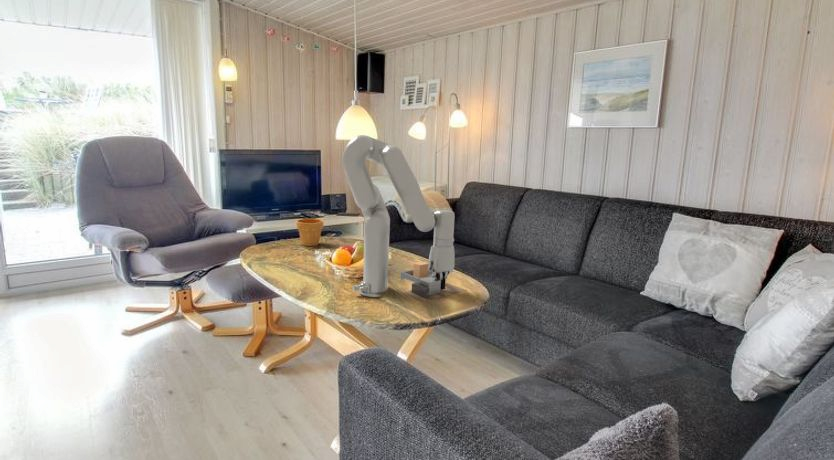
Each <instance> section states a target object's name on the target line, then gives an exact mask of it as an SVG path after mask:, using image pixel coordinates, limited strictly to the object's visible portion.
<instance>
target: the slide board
mask: <svg viewBox="0 0 834 460" xmlns="http://www.w3.org/2000/svg"><path fill="white" fill-rule="evenodd" d="M464 292H468V290H467V289H465V288H461V287H459V286H456V285H453V284H451V283H449V282H445V289H443V290H441V289H440V293H438V294H434V295H429V288H427V287H425V286H422V285H420V284H418V283H415V282H412V283H411V290H408V291H402V294H405V295H406V296H408V297H411V298H413V299H415V300H418V301H420V302H427V301H432V300H434V299H438V298H442V297H447V296H451V295H457V294H459V293H460V294H461V293H464Z"/></svg>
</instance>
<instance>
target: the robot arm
mask: <svg viewBox="0 0 834 460" xmlns="http://www.w3.org/2000/svg"><path fill="white" fill-rule="evenodd" d="M367 160H368V161H371V162H373V163H377V164H380V165H382V167H383V168H384V170H385V172H386V174H387V176H388V179H390V181H391V183H392V185H393V187H394V189H395V192H396V193H397V195H398V196H399V198H400V200H401V201H402V203H403V205H404V206H405V209H406V210H407V213H408V214H409V216H410V217H411V219H412V222H413V224H414V226H415V227H416V229H417V230H419V231H420V232H422V233H423V232H424V233H426V232H430V231H432V230H433V242H432V243H433V244H432V245H431V247H430V251H429V255H428V256H429V257H428V262H427V263H428V270H430V271H431V272H430V275H432V276H435V277H436V278H437V279H439V280H441V288H440V289H441V290H443V289H445V283H446V280H447V279H448V276H449V274H451V273H453V272H454V269H455V262H456V261H455V258H456V257H455V246H454V242H455V238H454V233H455V232H454V230H455V218H456V217H455V212H454V211H453V210H449V209H432V208H430V206H429V204H428V203H427V201H426V199H425V196H424V195H423V192H422V189H421V187H420V184H419V183H418V180H417V178H416V176H415V174H414V172H413V171H412V168H411V167H410V165H409V163H408V161H407V159H406V157H405V155H404V153H403V151H402V149H401V148H399V147H398V146H397V145H393V144H391V143H388V142H384V141H382V140H379V139H376V138H373V137H371V136H368V135H364V134H359V135H357V136H355V137H353V138H352V139H351V140H350V141H349V142H348V143H347V145H345V148H344V150H343V153H342V157H341V164H342V169H343V172H344V175H345V178H346V181H347V183H348V186H349V188H350V191H351V194H352V196H353V199H354V202H355V204H356V206H357V207H358V208H360V210H361V213H362V215H363V218H364V222H363V273H362V274H363V277H362V278H363V280H361V281H360V283H359V284H356V285H352V286H351V289H352V291H353V292H354V291H358V293H359V294H360V295H362V296H364V297H368V298H382V297H383V298H384V296H383V295H381V294H380V293H384V292H387V291H388V290H389V263H390V262H389V259H390V256H389V254H390V232H391V231H390V230H391V227H390V226H391V225H390V224H391V218H390V213H389V211H388V209H387V207H386V206H387V205H386V204H385V201H384V199H383V196H382V194H381V191H380V190H379V187H378V186H377V185H376V184H374V183H373V180H372V177H371V175H370V172H369V169H368V167H367V163H366V161H367Z"/></svg>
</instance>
